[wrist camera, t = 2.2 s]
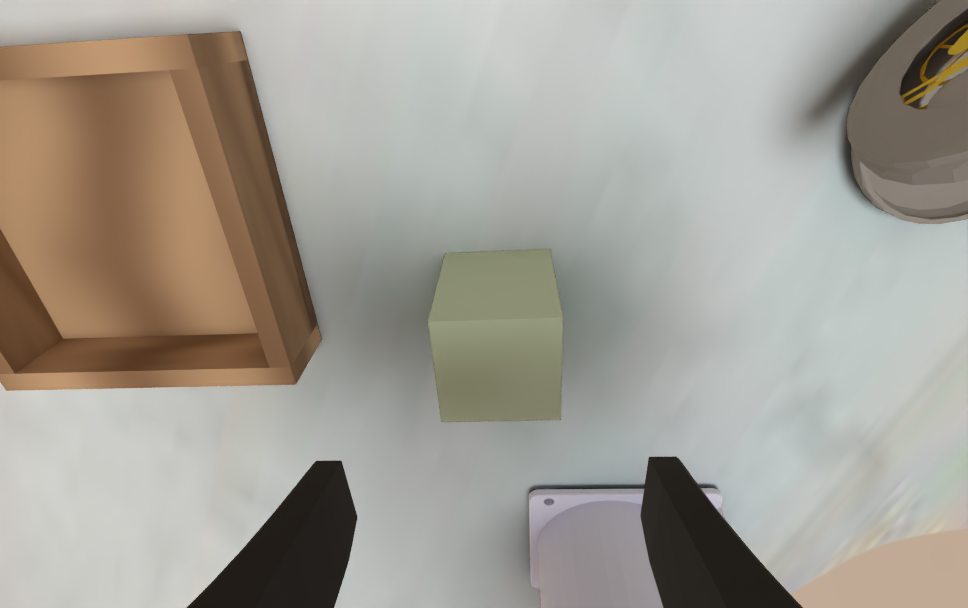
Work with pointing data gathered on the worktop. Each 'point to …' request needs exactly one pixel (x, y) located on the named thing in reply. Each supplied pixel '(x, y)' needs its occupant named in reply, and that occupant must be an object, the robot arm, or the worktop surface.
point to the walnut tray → (144, 221)
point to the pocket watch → (916, 121)
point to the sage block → (497, 337)
